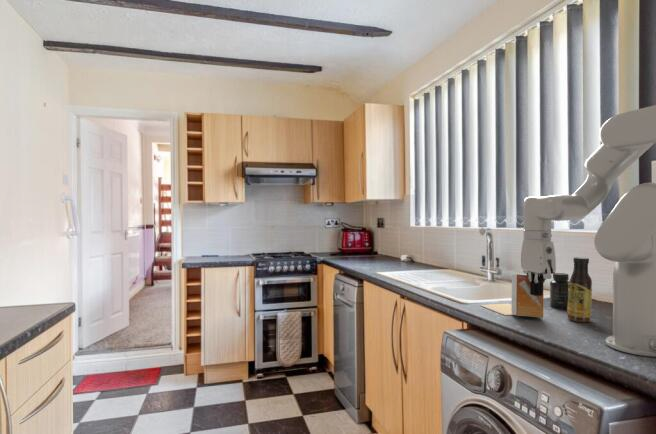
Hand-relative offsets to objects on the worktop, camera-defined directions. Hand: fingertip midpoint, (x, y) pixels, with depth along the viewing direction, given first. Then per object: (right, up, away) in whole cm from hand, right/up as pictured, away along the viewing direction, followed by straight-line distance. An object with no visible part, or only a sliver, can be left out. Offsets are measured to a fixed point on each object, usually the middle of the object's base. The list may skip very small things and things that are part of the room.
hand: (536, 294), depth 120 cm
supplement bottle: (+19, -8, +19) cm, 28 cm away
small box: (-1, -8, +4) cm, 9 cm away
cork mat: (-2, -8, +15) cm, 18 cm away
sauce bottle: (+14, -9, +1) cm, 17 cm away
